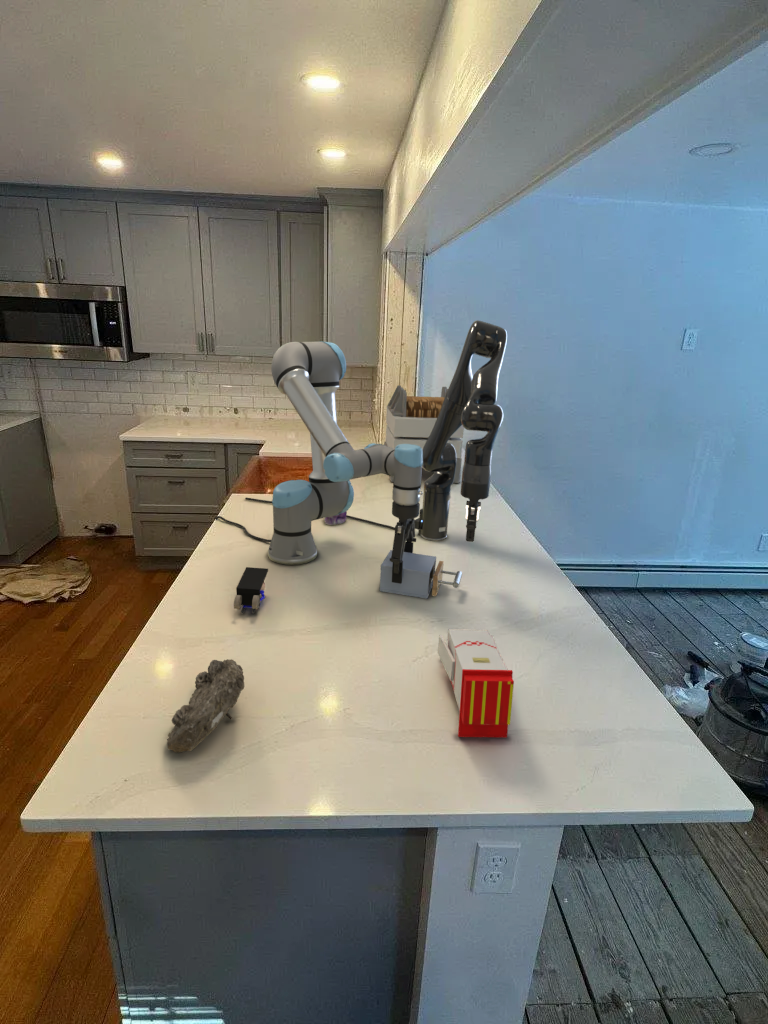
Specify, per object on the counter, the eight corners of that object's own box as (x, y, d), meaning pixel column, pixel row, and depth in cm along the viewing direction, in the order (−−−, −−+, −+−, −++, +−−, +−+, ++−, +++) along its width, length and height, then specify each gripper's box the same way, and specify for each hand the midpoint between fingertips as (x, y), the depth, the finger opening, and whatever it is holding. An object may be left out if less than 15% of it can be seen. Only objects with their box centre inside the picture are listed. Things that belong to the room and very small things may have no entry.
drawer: (461, 583, 163) (463, 564, 161) (457, 599, 154) (459, 579, 152) (400, 574, 168) (401, 555, 165) (392, 589, 158) (393, 569, 156)
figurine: (328, 527, 202) (328, 487, 197) (317, 518, 211) (318, 479, 206) (352, 524, 206) (353, 484, 201) (341, 515, 215) (342, 477, 210)
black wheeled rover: (260, 622, 143) (270, 588, 156) (258, 597, 140) (268, 565, 153) (233, 621, 143) (245, 588, 156) (231, 597, 139) (243, 564, 153)
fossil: (192, 660, 117) (244, 628, 112) (224, 691, 120) (276, 661, 115) (142, 746, 98) (202, 712, 93) (182, 779, 101) (242, 748, 96)
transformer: (382, 463, 289) (386, 382, 275) (445, 464, 293) (451, 384, 279) (390, 482, 257) (394, 392, 243) (460, 483, 261) (468, 394, 247)
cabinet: (434, 581, 166) (436, 556, 163) (427, 598, 156) (429, 572, 153) (389, 574, 169) (390, 549, 166) (379, 591, 159) (380, 565, 156)
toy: (488, 613, 130) (523, 677, 101) (484, 667, 133) (517, 744, 104) (435, 612, 130) (455, 676, 101) (432, 666, 133) (451, 743, 103)
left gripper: (409, 518, 142) (405, 593, 149) (428, 490, 165) (423, 557, 172) (381, 514, 144) (378, 589, 151) (402, 487, 167) (399, 553, 174)
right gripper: (489, 488, 143) (483, 546, 149) (490, 473, 157) (484, 528, 162) (460, 485, 145) (455, 543, 150) (463, 471, 158) (458, 525, 163)
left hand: (402, 572), depth 161 cm, fingers open, 13 cm apart
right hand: (470, 535), depth 156 cm, fingers open, 8 cm apart
